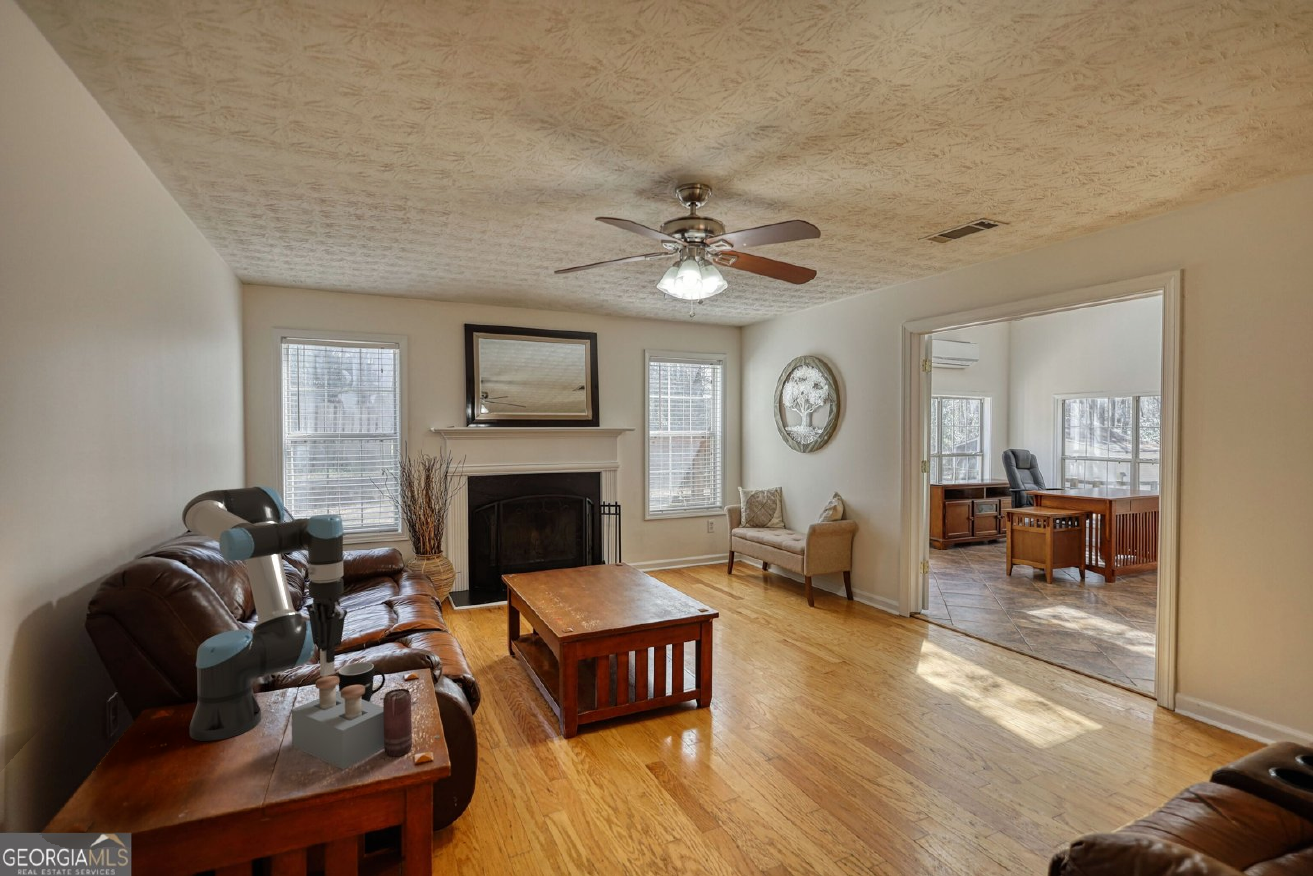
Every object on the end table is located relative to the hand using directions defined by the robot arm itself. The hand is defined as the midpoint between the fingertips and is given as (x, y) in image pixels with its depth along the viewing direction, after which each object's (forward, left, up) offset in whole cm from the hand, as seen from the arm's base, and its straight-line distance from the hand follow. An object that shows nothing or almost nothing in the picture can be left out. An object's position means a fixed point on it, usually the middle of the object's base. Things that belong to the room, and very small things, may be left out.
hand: (327, 674), depth 153 cm
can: (+19, +6, -17) cm, 26 cm away
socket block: (+5, 0, -17) cm, 17 cm away
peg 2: (+10, 0, -12) cm, 15 cm away
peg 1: (0, 0, -12) cm, 12 cm away
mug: (-11, +17, -17) cm, 26 cm away
